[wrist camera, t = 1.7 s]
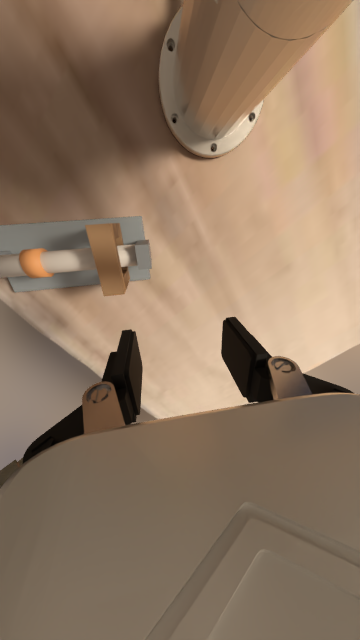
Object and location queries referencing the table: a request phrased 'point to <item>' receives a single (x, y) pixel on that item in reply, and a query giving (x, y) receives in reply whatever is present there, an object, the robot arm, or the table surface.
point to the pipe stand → (66, 253)
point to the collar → (108, 257)
